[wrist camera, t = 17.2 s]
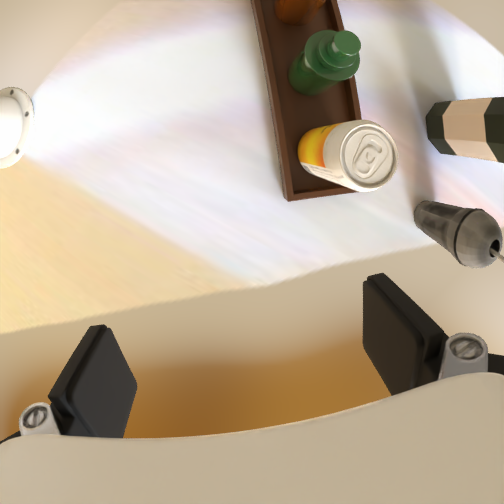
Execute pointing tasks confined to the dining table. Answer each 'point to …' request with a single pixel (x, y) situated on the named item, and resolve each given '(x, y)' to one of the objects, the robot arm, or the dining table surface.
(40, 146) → the dining table surface
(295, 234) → the dining table surface
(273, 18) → the tray
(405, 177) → the dining table surface
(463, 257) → the beverage cup
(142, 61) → the dining table surface
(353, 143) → the beer can
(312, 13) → the amber bottle
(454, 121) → the wine bottle
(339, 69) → the green bottle
